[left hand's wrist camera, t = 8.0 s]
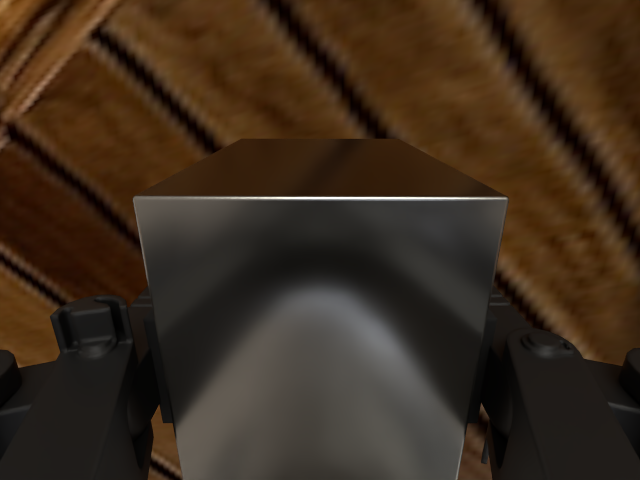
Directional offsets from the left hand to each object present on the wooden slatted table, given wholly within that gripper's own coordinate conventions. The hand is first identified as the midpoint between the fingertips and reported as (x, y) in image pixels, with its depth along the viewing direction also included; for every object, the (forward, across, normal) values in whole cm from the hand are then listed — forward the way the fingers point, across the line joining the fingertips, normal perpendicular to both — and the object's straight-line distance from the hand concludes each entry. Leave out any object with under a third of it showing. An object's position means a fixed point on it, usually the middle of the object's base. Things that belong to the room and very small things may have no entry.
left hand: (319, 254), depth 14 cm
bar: (+1, 0, -7) cm, 7 cm away
